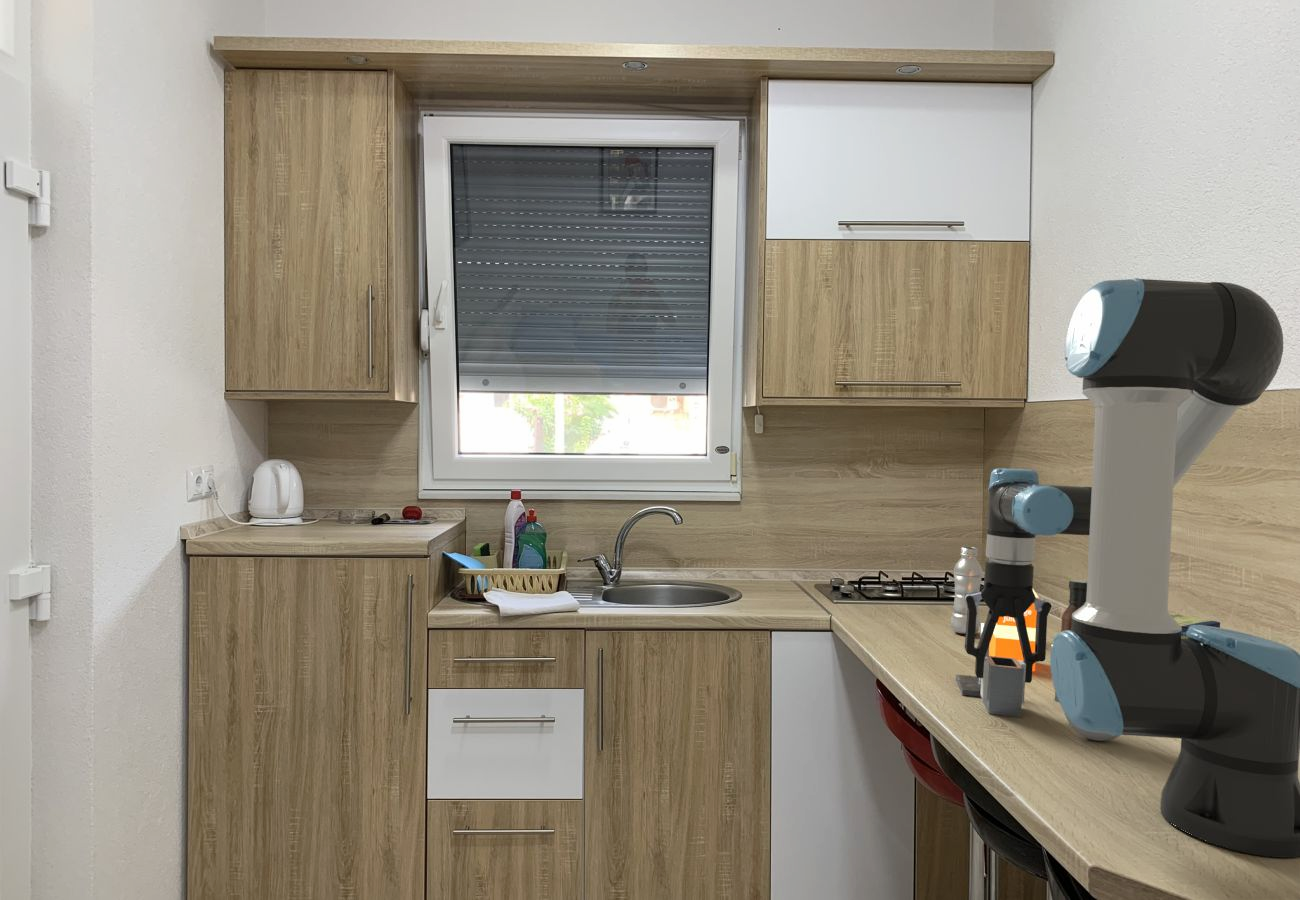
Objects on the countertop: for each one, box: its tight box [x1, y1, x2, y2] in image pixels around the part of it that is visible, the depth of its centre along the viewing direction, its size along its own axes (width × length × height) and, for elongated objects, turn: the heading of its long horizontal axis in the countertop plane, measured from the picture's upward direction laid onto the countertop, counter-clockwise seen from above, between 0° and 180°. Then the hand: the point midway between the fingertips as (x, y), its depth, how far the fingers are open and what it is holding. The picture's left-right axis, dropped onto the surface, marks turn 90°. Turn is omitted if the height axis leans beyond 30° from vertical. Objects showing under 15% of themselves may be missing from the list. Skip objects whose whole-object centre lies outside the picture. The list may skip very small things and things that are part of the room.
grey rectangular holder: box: [982, 655, 1024, 718], centre depth 147 cm, size 7×5×8 cm
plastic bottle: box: [950, 546, 983, 635], centre depth 203 cm, size 6×7×20 cm
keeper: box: [955, 622, 990, 698], centre depth 158 cm, size 10×8×12 cm
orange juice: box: [989, 589, 1040, 672], centre depth 177 cm, size 8×9×20 cm
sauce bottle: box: [1060, 579, 1087, 632], centre depth 162 cm, size 7×6×20 cm
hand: (1001, 698), depth 147 cm, fingers closed on grey rectangular holder, 5 cm apart
